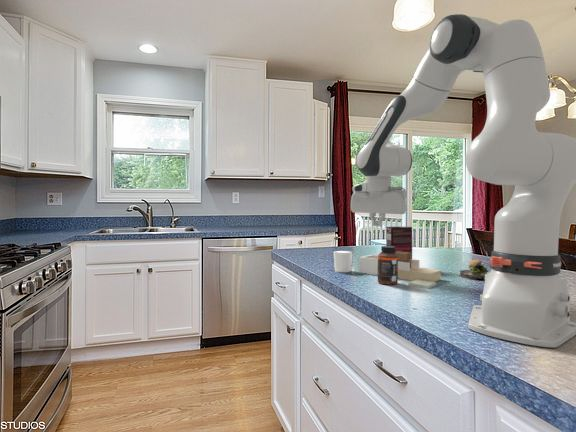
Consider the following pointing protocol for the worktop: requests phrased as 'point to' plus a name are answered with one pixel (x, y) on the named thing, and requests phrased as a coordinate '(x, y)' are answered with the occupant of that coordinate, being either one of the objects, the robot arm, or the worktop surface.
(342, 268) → the white cylinder
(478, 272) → the burger
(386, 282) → the supplement bottle
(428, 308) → the worktop surface
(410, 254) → the walnut block
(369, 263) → the trough
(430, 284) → the coaster
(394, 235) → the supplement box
